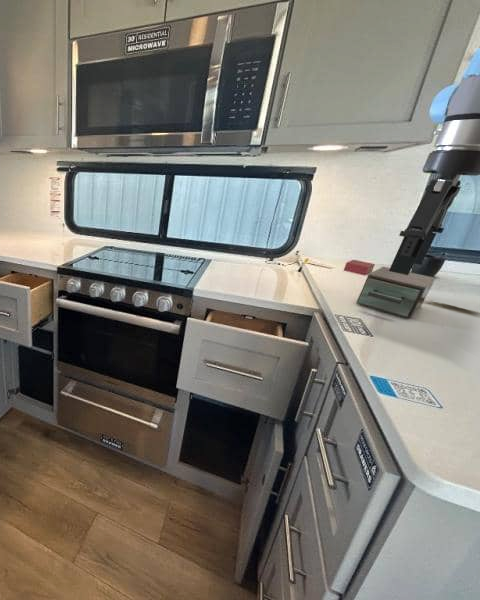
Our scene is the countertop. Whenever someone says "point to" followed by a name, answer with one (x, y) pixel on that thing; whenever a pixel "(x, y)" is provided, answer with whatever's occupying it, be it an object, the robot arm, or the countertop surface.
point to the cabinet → (407, 280)
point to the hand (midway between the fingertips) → (405, 267)
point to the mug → (429, 266)
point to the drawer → (389, 296)
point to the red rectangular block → (359, 267)
